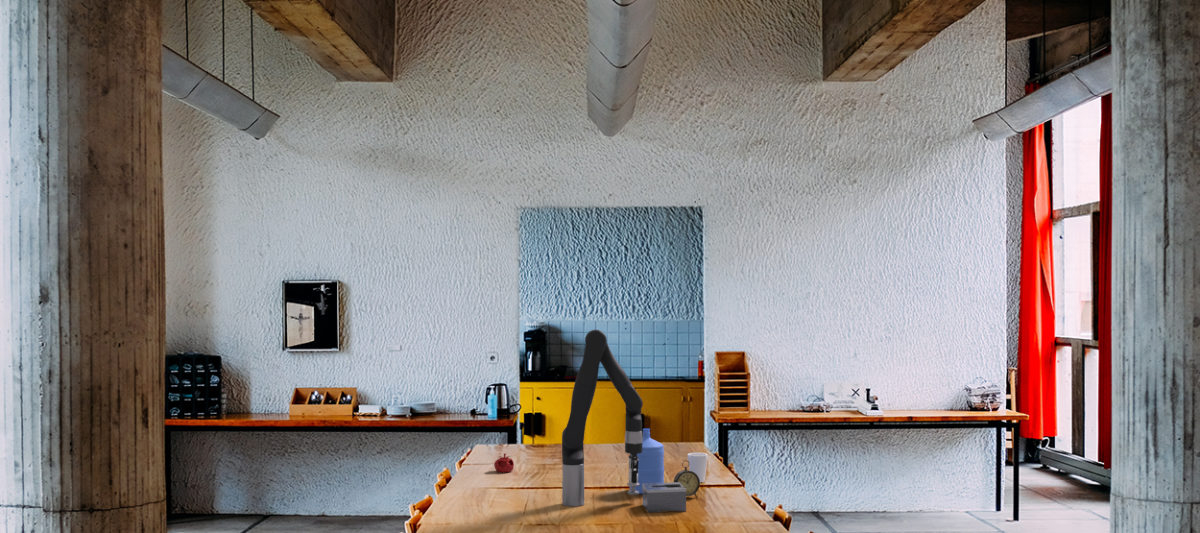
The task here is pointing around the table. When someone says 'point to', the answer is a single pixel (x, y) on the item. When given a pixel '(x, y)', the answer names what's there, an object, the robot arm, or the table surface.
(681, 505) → the keyhole stand
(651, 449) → the water jug
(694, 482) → the alarm clock
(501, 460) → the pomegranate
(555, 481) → the table surface
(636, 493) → the peg
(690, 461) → the foam cup
